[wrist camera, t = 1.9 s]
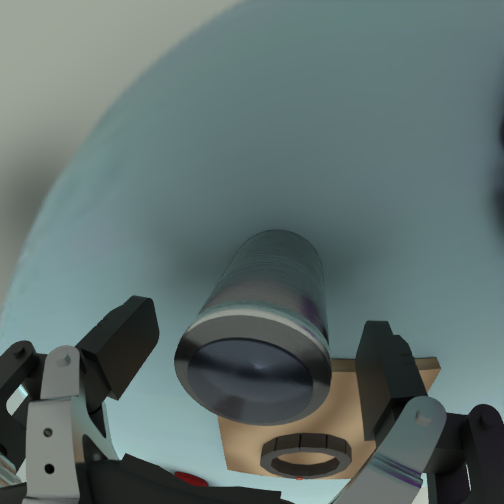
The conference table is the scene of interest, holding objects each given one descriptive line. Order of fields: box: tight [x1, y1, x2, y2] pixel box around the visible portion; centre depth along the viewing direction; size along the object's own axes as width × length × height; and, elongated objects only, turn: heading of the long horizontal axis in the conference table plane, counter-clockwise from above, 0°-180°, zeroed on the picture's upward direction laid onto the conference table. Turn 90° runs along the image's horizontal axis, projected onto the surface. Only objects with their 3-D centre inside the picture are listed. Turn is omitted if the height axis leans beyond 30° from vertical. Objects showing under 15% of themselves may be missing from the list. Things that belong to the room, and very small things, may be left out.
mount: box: [217, 358, 441, 480], centre depth 19 cm, size 16×20×3 cm
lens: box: [174, 230, 332, 426], centre depth 11 cm, size 5×5×8 cm
